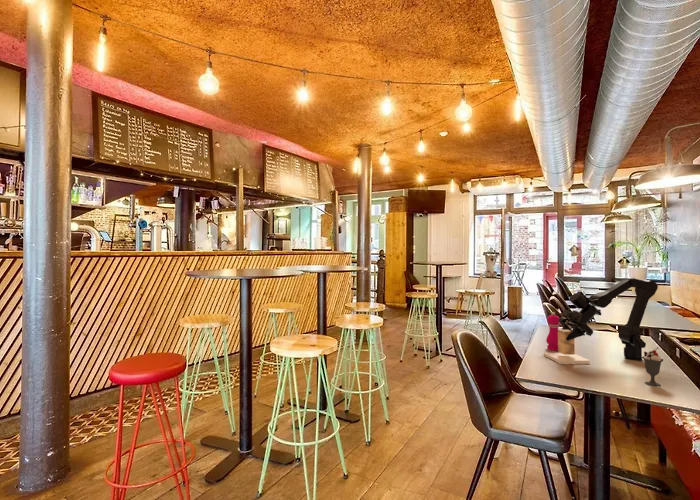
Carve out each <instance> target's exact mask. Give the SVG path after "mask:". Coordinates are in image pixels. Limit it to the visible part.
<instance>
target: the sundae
mask: <svg viewBox="0 0 700 500" xmlns="http://www.w3.org/2000/svg"><path fill="white" fill-rule="evenodd" d="M658 349H659V347H656V348H655V349H653V350H651V351H648V352H647V351H643V353H644V354H643V355H644V356H643V355H642V360H643V363H644V367H645V371H646V373H647V374H648V375H650V379H649V381H645V382H644V384H645V385H647V386H652V387H657V386H659V387H661V386H662V385H661V384H660V383H658V382H656V379H655V377H656V376H657V375H659V373H660V371H661V365H662V362H664V358H661V356H660V355H659V353H658V352H657V350H658Z"/></svg>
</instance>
